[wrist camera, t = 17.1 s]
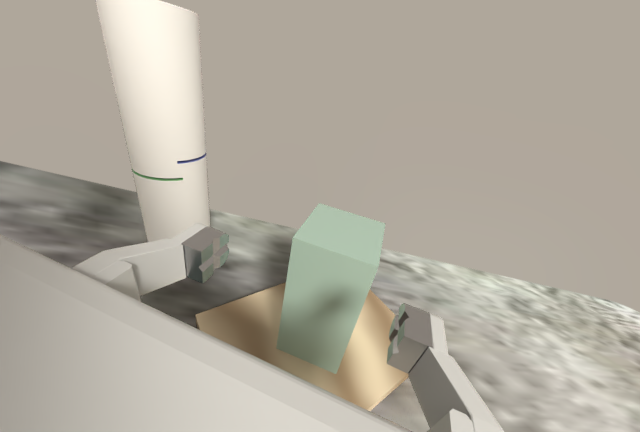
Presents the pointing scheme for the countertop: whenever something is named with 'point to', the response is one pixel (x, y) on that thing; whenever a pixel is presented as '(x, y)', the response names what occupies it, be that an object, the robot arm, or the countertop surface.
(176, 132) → the cylindrical container
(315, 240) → the mint green rectangular block
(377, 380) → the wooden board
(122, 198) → the countertop surface
